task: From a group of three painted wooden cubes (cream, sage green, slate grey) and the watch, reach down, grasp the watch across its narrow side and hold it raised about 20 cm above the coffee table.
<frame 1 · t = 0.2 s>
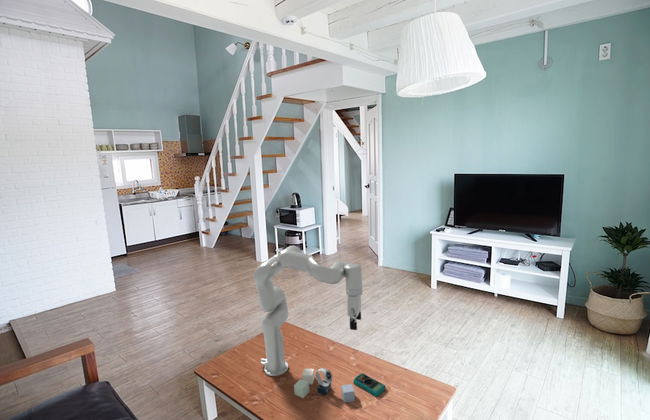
hand: (355, 324, 162), 31 cm above the table, fingers open, 9 cm apart
watch: (324, 391, 163), on the table
cream cube: (308, 380, 170), on the table
digital multimeter: (369, 387, 164), on the table
sage cube: (302, 393, 162), on the table
slate cube: (348, 398, 157), on the table
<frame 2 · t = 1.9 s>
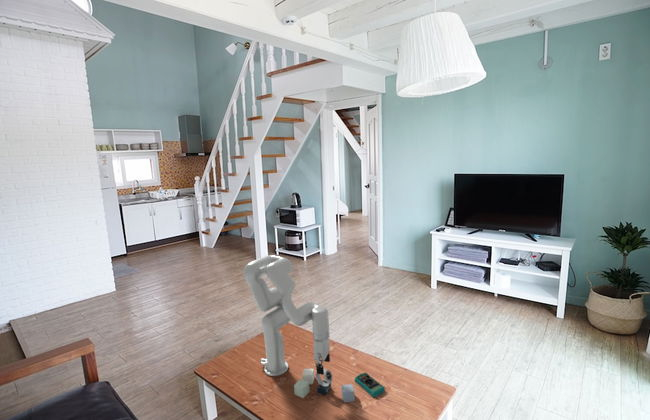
hand: (323, 367, 160), 12 cm above the table, fingers open, 9 cm apart
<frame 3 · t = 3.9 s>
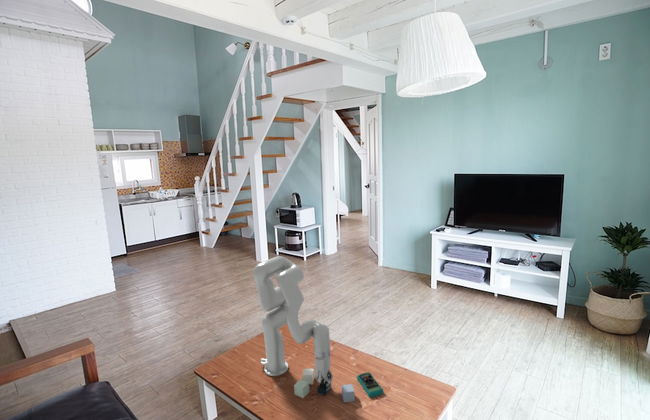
hand: (324, 386, 162), 2 cm above the table, fingers closed on watch, 3 cm apart
watch: (324, 390, 163), on the table, touching gripper
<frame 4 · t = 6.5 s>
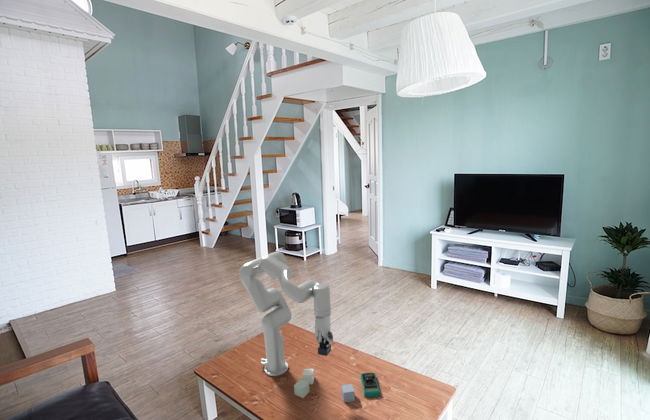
hand: (324, 347, 159), 22 cm above the table, fingers closed on watch, 3 cm apart
watch: (324, 352, 159), point 20 cm above the table, touching gripper
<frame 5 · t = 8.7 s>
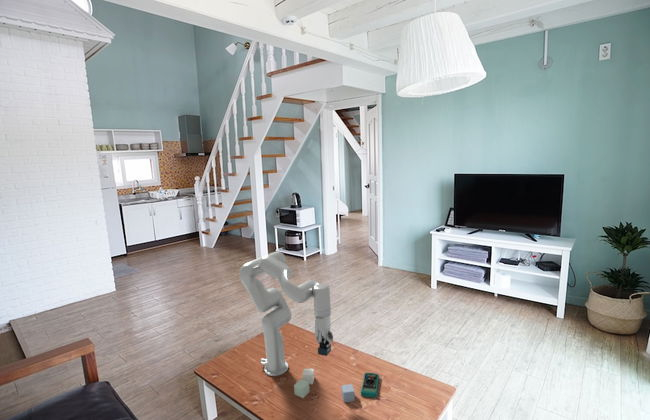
hand: (324, 347, 159), 22 cm above the table, fingers closed on watch, 3 cm apart
watch: (324, 352, 160), point 20 cm above the table, touching gripper
at the end: the gripper is holding watch; watch point 19.6 cm above the table; sage cube moved 0.1 cm from its start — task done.
